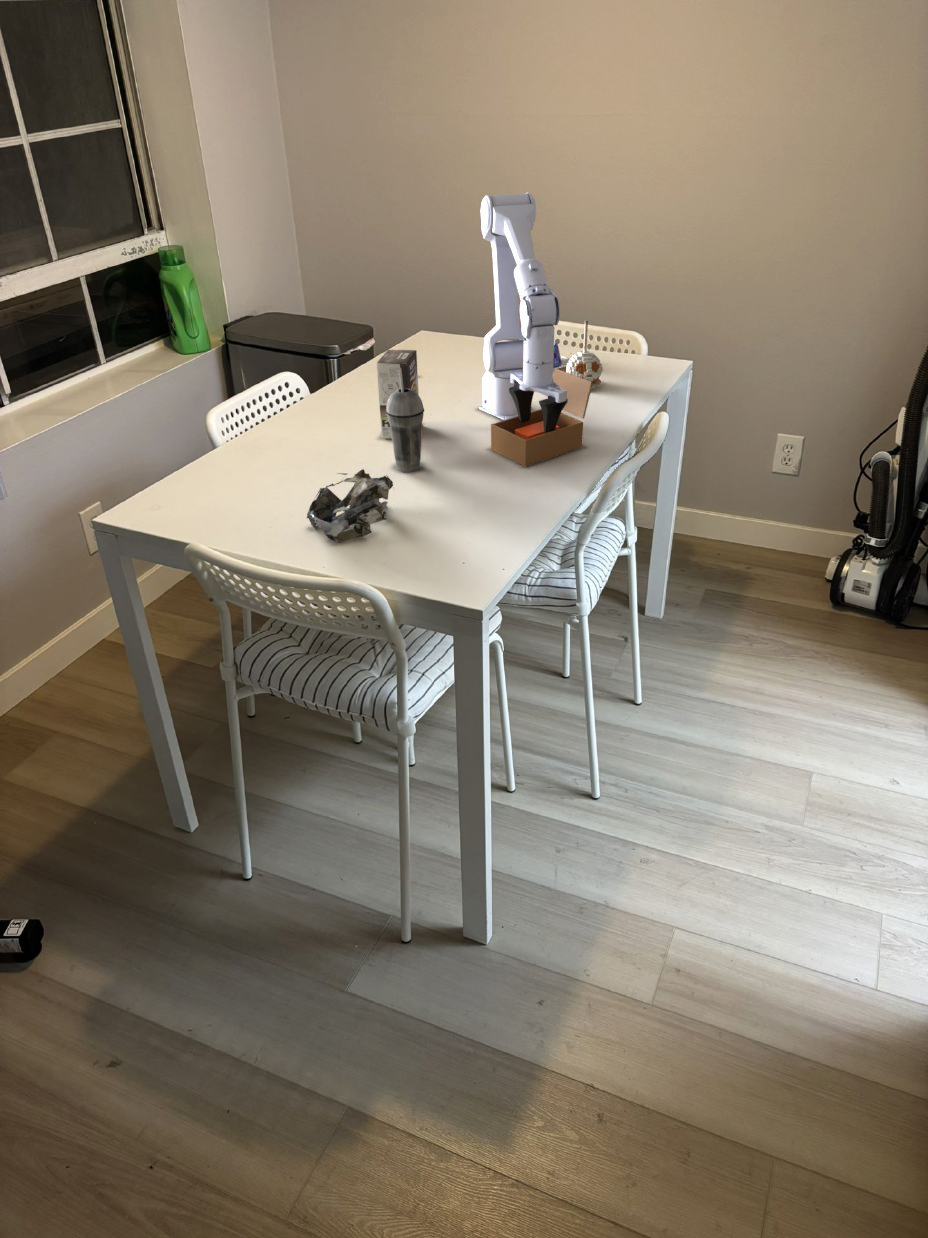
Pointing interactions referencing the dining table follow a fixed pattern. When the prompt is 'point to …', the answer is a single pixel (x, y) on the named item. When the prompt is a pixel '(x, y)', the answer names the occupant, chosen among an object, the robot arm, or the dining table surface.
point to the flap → (574, 392)
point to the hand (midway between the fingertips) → (536, 426)
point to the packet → (531, 430)
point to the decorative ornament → (585, 363)
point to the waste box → (536, 439)
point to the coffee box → (395, 380)
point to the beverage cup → (406, 427)
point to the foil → (351, 507)
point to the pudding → (559, 358)
